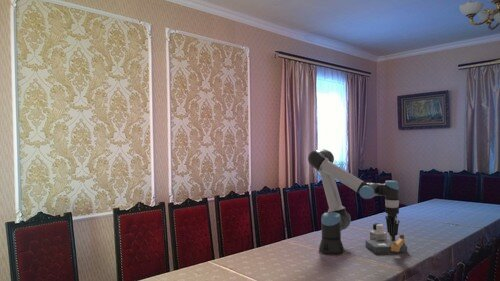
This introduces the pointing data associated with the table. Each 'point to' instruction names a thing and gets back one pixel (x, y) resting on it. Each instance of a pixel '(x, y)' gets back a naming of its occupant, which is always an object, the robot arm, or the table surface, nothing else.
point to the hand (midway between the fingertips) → (392, 246)
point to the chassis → (383, 246)
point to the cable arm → (398, 243)
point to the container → (378, 232)
